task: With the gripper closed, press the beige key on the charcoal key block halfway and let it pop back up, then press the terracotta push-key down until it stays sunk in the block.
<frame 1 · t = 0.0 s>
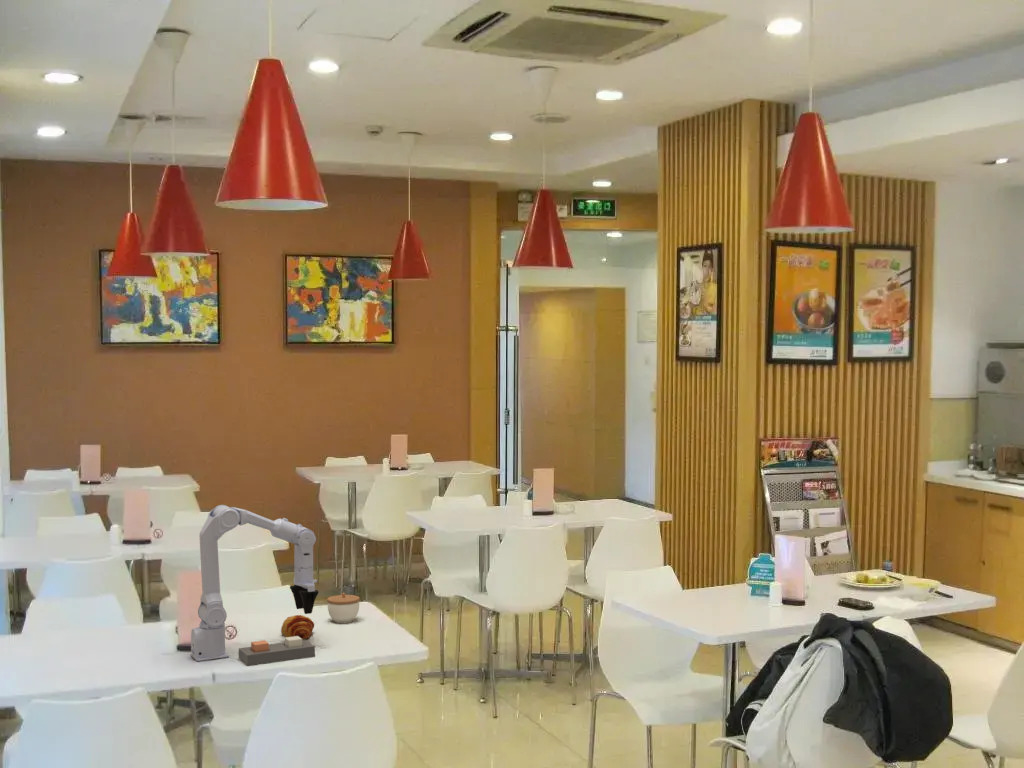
hand: (304, 611, 328), 10 cm above the table, tool pointing down, fingers open, 7 cm apart
terracotta key: (260, 647, 310), point 4 cm above the table, slide at 0.0 cm
croissant: (298, 635, 340), on the table
lidded jar: (343, 621, 358), on the table
beige key: (293, 643, 315), point 3 cm above the table, slide at 0.0 cm
key block: (276, 657, 313), on the table
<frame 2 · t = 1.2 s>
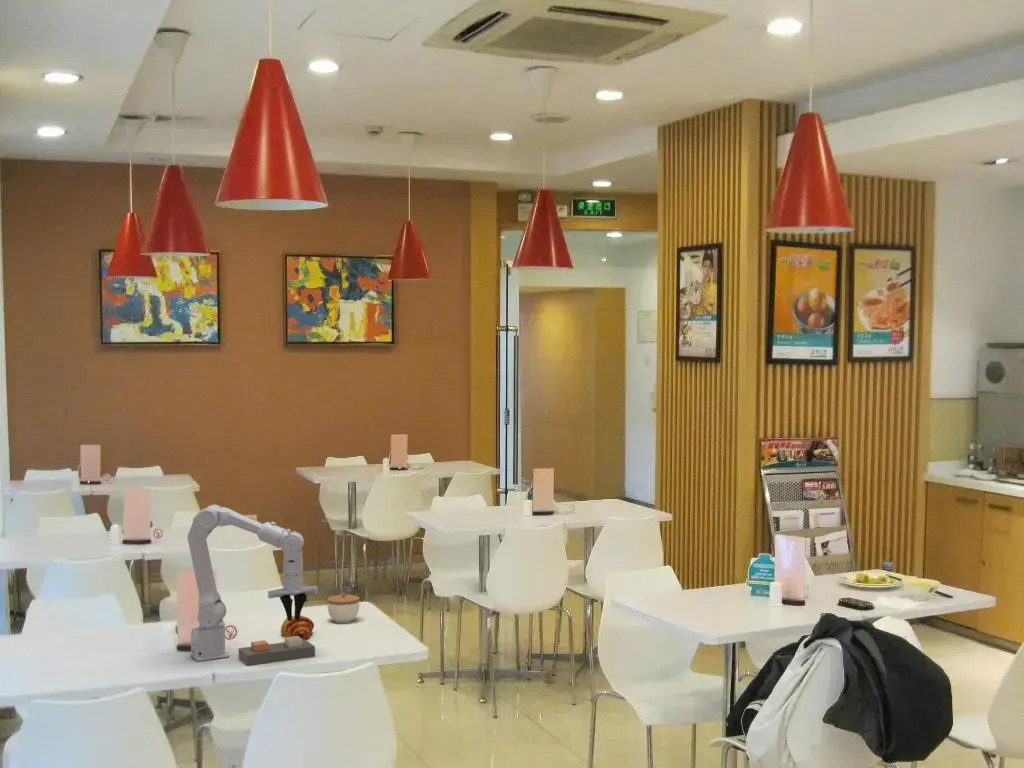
hand: (293, 620, 315), 10 cm above the table, tool pointing down, fingers closed
nothing on the table moved.
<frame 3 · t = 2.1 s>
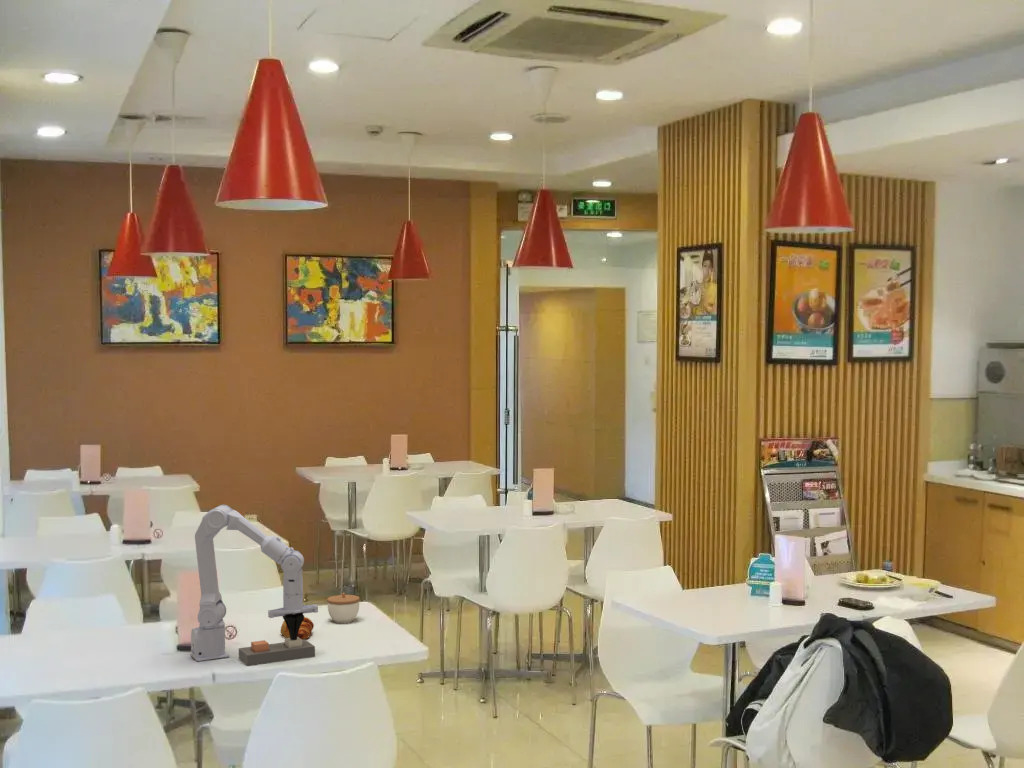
hand: (293, 639, 315), 5 cm above the table, tool pointing down, fingers closed, pressing on beige key
beige key: (293, 644, 315), point 3 cm above the table, slide at 0.3 cm, touching gripper
everything else where it was.
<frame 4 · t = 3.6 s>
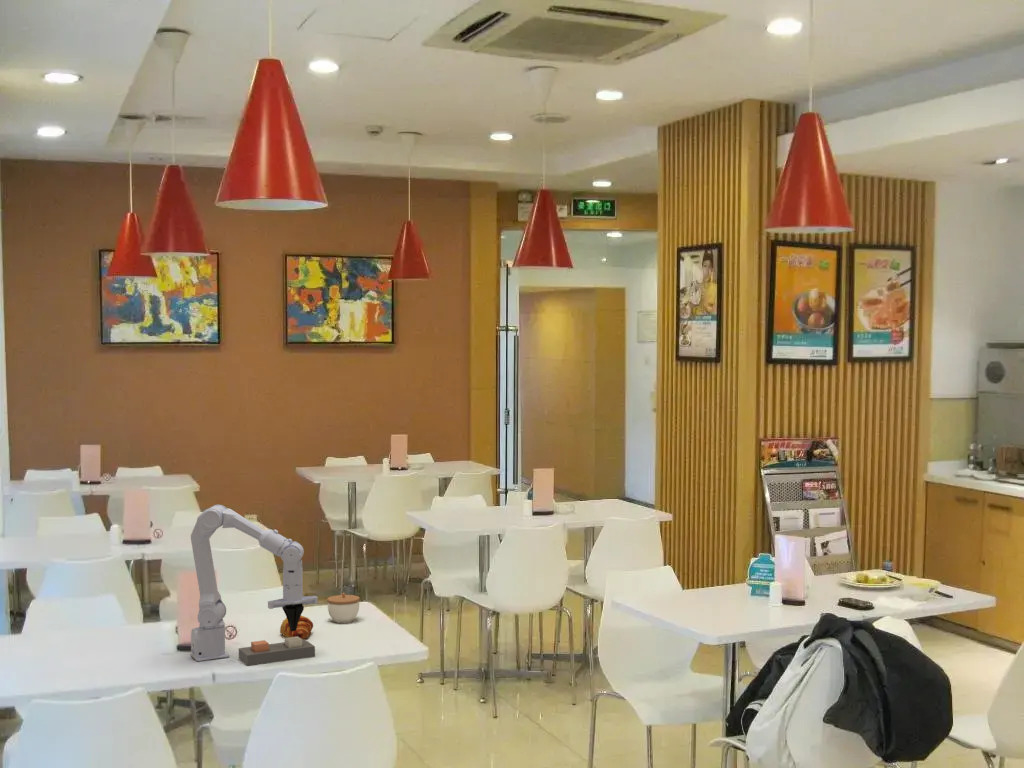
hand: (293, 630, 315), 7 cm above the table, tool pointing down, fingers closed
beige key: (293, 643, 315), point 3 cm above the table, slide at 0.2 cm
everything else where it was.
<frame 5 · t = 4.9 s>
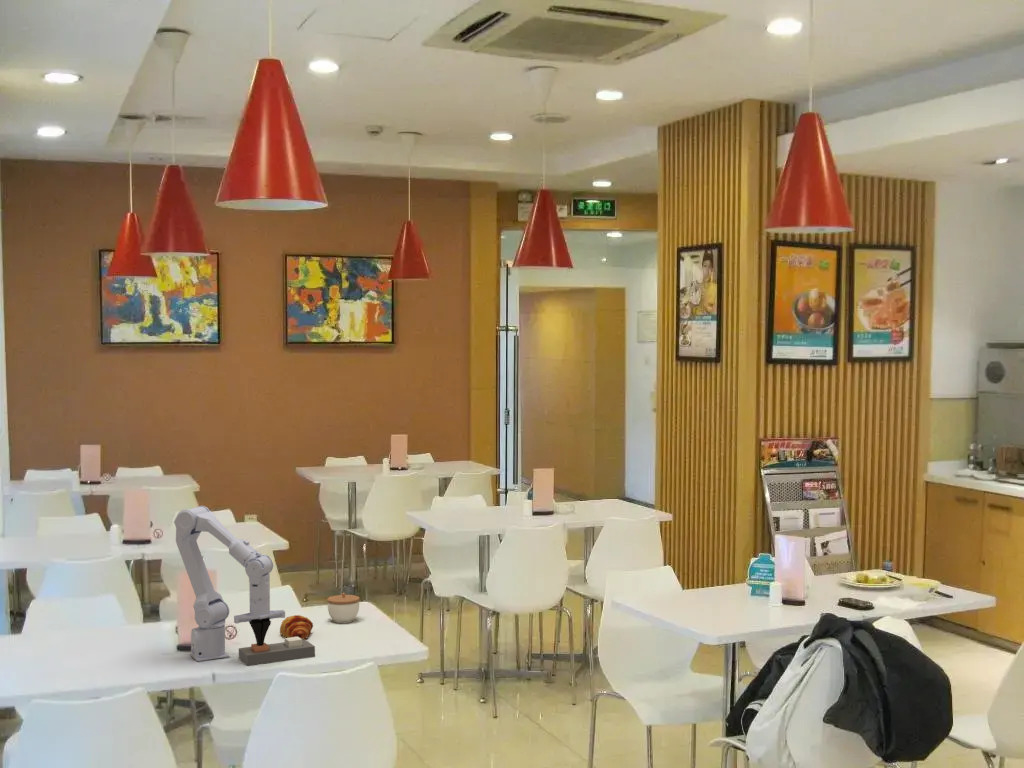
hand: (260, 645, 310), 4 cm above the table, tool pointing down, fingers closed, pressing on terracotta key
terracotta key: (260, 650, 310), point 3 cm above the table, slide at 0.7 cm, touching gripper
everything else where it was.
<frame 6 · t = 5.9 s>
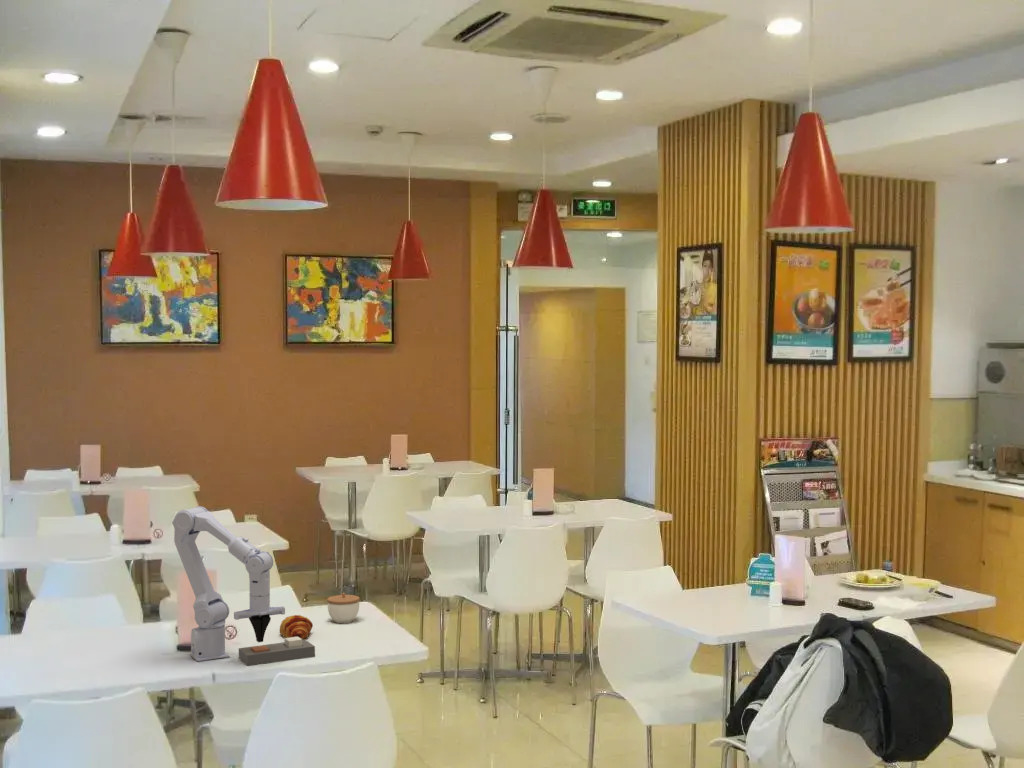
hand: (259, 641, 310), 5 cm above the table, tool pointing down, fingers closed
terracotta key: (260, 653, 310), point 2 cm above the table, slide at 1.5 cm
everything else where it was.
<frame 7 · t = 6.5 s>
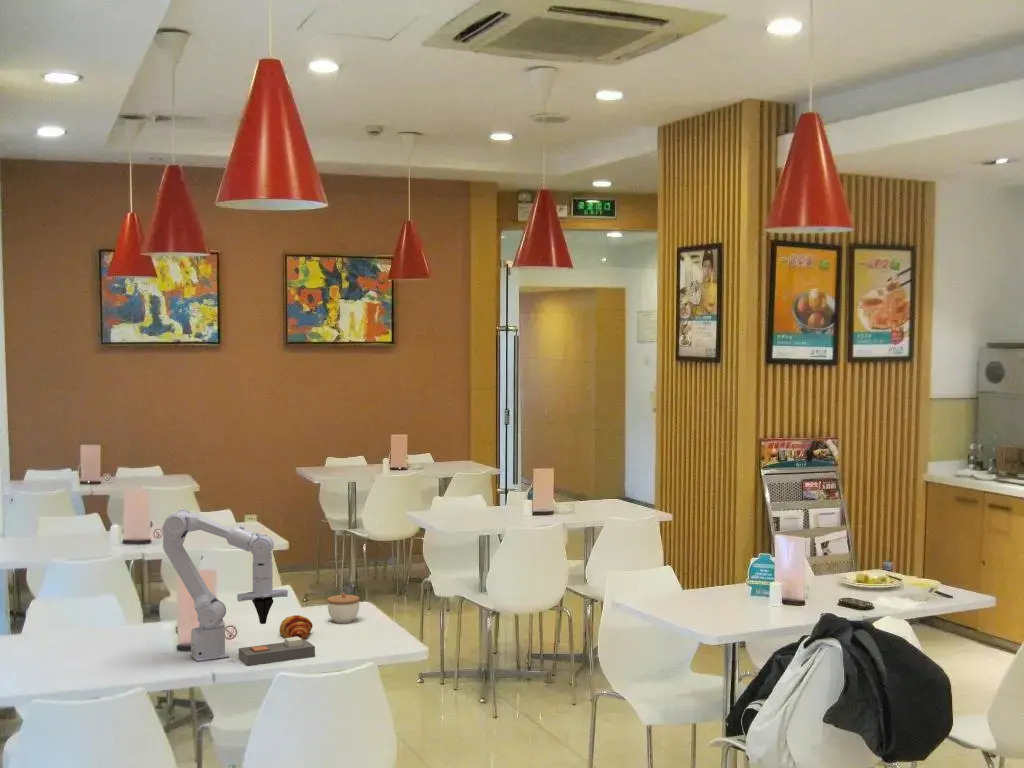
hand: (262, 623, 315), 10 cm above the table, tool pointing down, fingers closed
nothing on the table moved.
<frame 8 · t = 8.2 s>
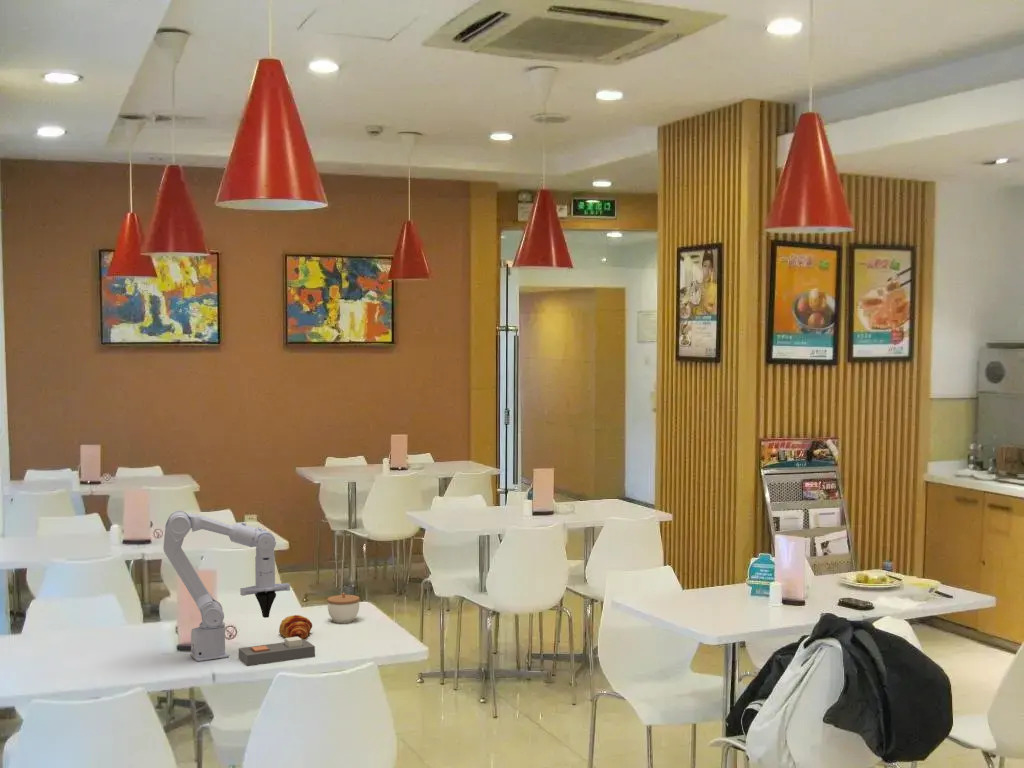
hand: (265, 616, 319), 10 cm above the table, tool pointing down, fingers closed
nothing on the table moved.
at the end: terracotta key slide at 1.5 cm; beige key slide at 0.2 cm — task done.
